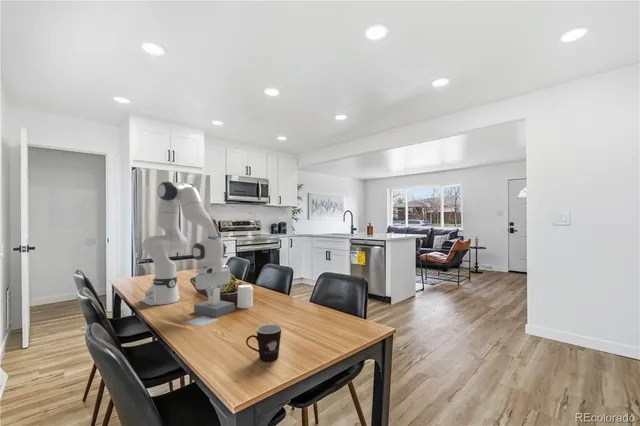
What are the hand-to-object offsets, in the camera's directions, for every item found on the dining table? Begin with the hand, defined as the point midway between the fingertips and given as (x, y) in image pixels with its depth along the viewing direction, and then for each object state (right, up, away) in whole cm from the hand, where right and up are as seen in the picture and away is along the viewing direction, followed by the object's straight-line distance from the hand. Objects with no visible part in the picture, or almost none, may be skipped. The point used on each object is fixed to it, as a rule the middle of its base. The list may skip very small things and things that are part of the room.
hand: (213, 294), depth 153 cm
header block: (0, -10, 0) cm, 10 cm away
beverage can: (+14, -10, +9) cm, 19 cm away
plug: (0, -7, 0) cm, 7 cm away
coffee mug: (+35, -9, -49) cm, 61 cm away
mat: (0, -9, -14) cm, 17 cm away
